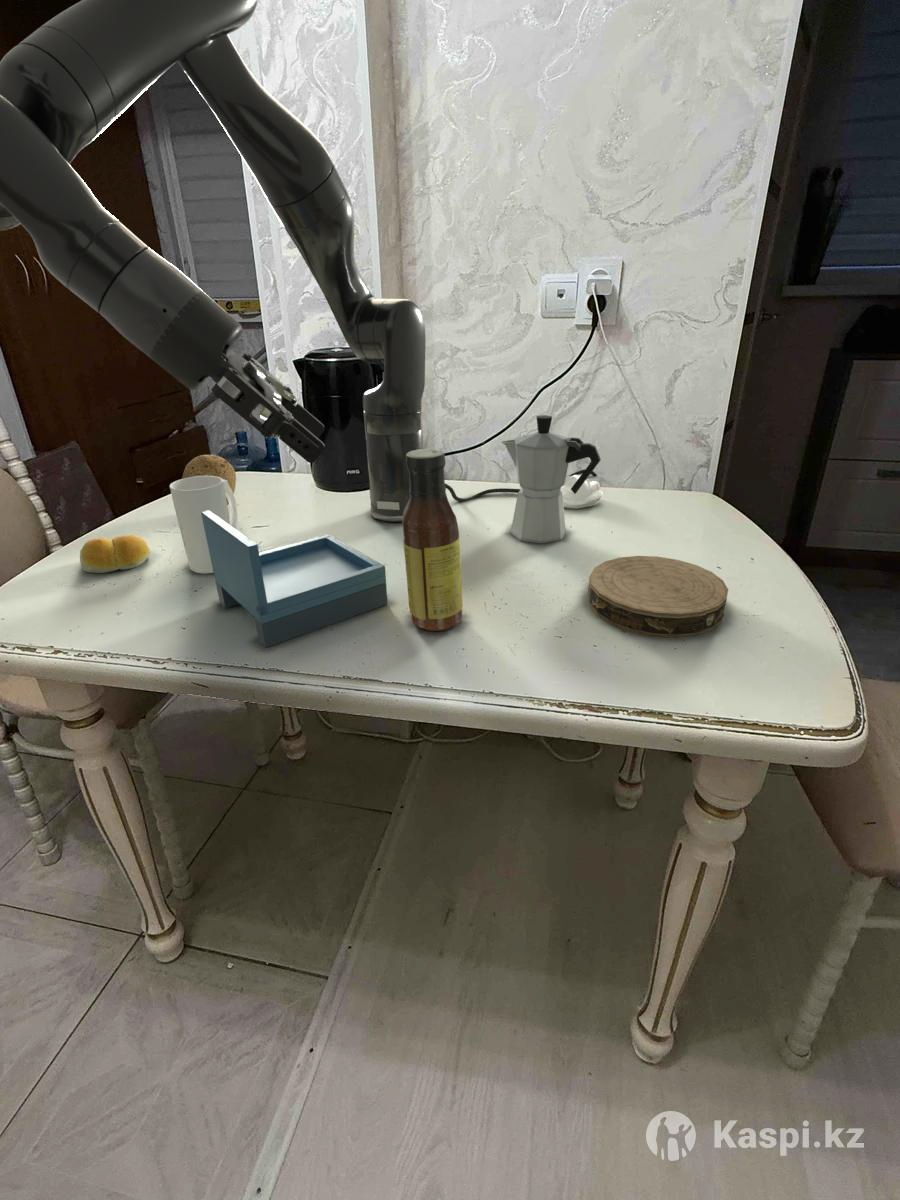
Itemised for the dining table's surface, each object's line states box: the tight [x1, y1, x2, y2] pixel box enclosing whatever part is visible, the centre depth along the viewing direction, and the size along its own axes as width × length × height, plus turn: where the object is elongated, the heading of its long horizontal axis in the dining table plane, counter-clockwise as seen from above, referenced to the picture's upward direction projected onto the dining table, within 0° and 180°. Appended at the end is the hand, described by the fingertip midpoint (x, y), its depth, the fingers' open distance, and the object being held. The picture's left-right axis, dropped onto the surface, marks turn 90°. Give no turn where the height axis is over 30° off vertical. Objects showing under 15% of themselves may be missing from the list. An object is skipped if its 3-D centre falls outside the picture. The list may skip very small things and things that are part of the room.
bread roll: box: [79, 534, 151, 574], centre depth 89 cm, size 8×9×4 cm
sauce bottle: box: [401, 448, 464, 632], centre depth 69 cm, size 7×6×20 cm
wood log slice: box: [587, 555, 729, 638], centre depth 75 cm, size 16×16×3 cm
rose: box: [560, 474, 603, 510], centre depth 111 cm, size 10×4×10 cm
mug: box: [168, 476, 238, 575], centre depth 87 cm, size 10×7×12 cm, turn 159°
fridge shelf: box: [201, 510, 389, 648], centre depth 75 cm, size 16×14×12 cm
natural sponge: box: [181, 454, 237, 507], centre depth 107 cm, size 9×9×10 cm
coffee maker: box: [500, 414, 602, 544], centre depth 93 cm, size 15×9×18 cm, turn 68°
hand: (319, 444), depth 62 cm, fingers open, 8 cm apart
